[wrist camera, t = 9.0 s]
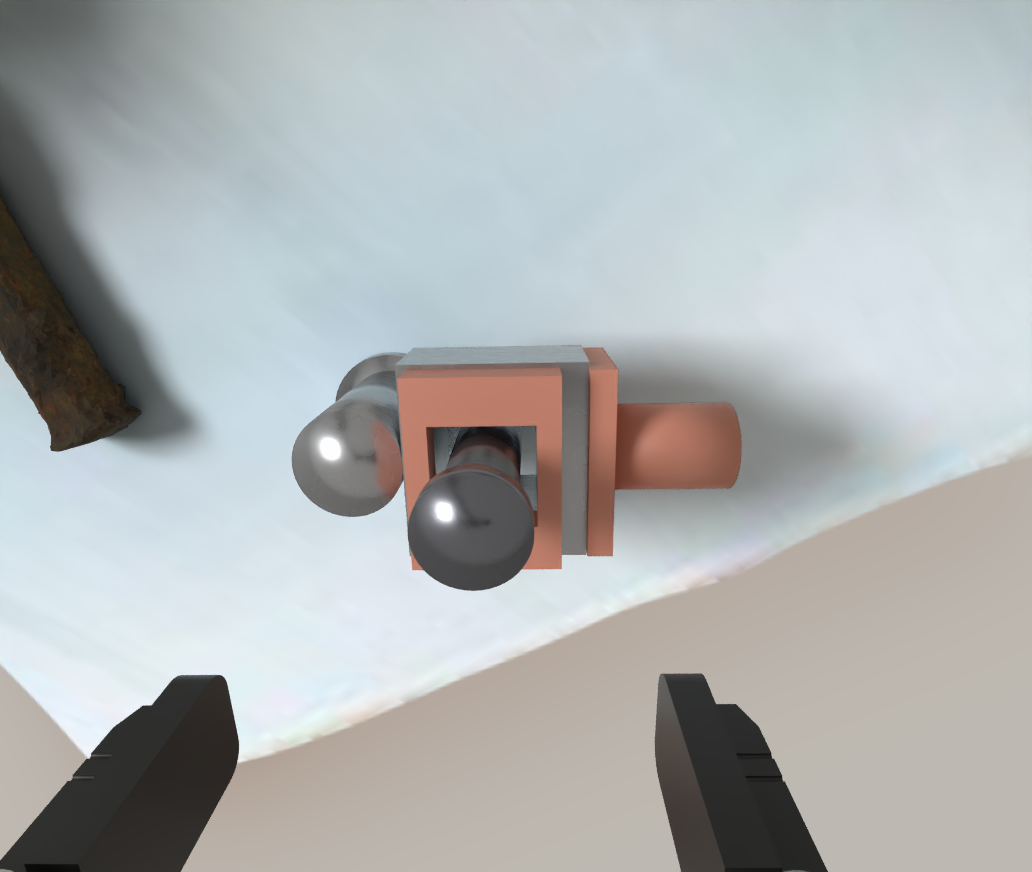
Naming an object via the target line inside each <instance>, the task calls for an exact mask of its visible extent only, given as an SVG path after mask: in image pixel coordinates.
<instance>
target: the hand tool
mask: <svg viewBox="0 0 1032 872" xmlns="http://www.w3.org/2000/svg"><path fill="white" fill-rule="evenodd" d="M0 351H1V354H2V355H3V356H4V358H5V361H6V362H7V363H8V364H9V366H10V367H11V368H12V370H13V371H14V373H15V375H16V377H17V378H18V380H19V381H20V382H21V384H22V385H23V387H24V388H25V389H26V391H27V392H28V395H29V397H30V398H31V399H32V401H33V402H34V404H35V406H36V408H37V410H38V411H39V412H38V413H39V414H40V415H41V417H42V418H43V419H44V420H45V422H46V423H47V425H48V427H49V428H48V429H49V431H50V434H51V446H50V448H51V451H58V452H59V451H63V450H67V449H70V448H74V447H77V446H81V445H85V444H88V443H91V442H94V441H97V440H99V439H102V438H105V437H108V436H111V435H113V434H115V433H116V432H118V431H120V430H122V429H124V428H127V427H128V424H130V423H131V422H133V421H134V420H135V419H136V418H137V417H138V416H139V415H141V411H139V410H138V409H136V408H134V407H132V406H129V405H127V404H126V402H125V401H124V396H125V388H124V386H122V385H121V384H118V383H114V382H113V381H112V379H111V378H110V377H109V375H108V374H107V372H106V371H105V369H104V368H103V366H102V365H101V363H100V362H99V360H98V358H97V356H96V354H95V352H94V350H93V348H92V347H91V345H90V344H89V342H88V341H87V340H86V338H85V336H84V335H83V334H82V333H81V332H80V330H79V329H78V327H77V325H76V324H75V322H74V320H73V318H72V316H71V315H70V313H69V311H68V309H67V308H66V306H65V304H64V302H63V295H62V293H61V292H60V291H59V290H57V289H56V288H55V287H54V285H53V284H52V282H51V280H50V279H49V277H48V275H47V274H46V272H45V270H44V268H43V266H42V264H41V262H40V261H39V260H38V259H37V257H36V256H35V255H34V253H33V251H32V250H31V248H30V246H29V245H28V243H27V242H26V240H25V238H24V237H23V235H22V233H21V231H20V230H19V228H18V226H17V225H16V223H15V221H14V219H13V218H12V216H11V215H10V213H9V211H8V210H7V208H6V206H5V205H4V203H3V202H2V200H1V198H0Z"/></svg>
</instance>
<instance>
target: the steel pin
mask: <svg viewBox="0 0 1032 872" xmlns="http://www.w3.org/2000/svg"><path fill="white" fill-rule="evenodd" d="M521 440H522V426H472V427H461V429H460V431H459V434H458V437H457V439H456V442H455V445H454V447H453V450H452V453H451V455H450V458H449V461H448V463H447V466H446V469H445V470H444V471H442V472H440V473H438V474H437V475H435V476H434V477H433V478H432V479H431V480H429V481H428V483H427V484H426V485H425V486H424V487H423V489H422V490H421V492H420V494H419V496H418V498H417V500H416V503H415V505H414V507H413V509H412V512H411V514H410V518H409V522H408V541H409V545H410V548H411V551H412V553H413V556H414V558H415V559H416V561H417V562H418V564H419V565H420V566H421V567H422V569H423V570H424V571H425V572H426V573H427V574H428V575H430V576H431V577H432V578H434V579H435V580H437V581H439V582H440V583H442V584H445V585H447V586H449V587H453V588H456V589H461V590H471V591H476V590H485V589H490V588H493V587H497V586H499V585H501V584H503V583H505V582H507V581H509V580H510V579H512V578H513V577H514V576H515V575H517V574H518V573H519V571H520V570H521V569H522V568H523V567H524V565H525V564H526V563H527V561H528V559H529V557H530V555H531V552H532V549H533V544H534V512H533V508H532V504H531V502H530V499H529V497H528V495H527V494H526V492H525V490H524V489H523V488H522V486H521V485H520V465H521Z"/></svg>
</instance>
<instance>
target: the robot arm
mask: <svg viewBox="0 0 1032 872" xmlns="http://www.w3.org/2000/svg"><path fill="white" fill-rule="evenodd" d="M238 754H239V740H238V734H237V729H236V724H235V720H234V715H233V710H232V705H231V700H230V695H229V690H228V685H227V682H226V680H225V678H224V677H223V676H221V675H180V676H177V677H175V678H174V679H173V680H172V681H171V682H170V683H169V685H168V686H167V687H166V688H165V690H164V691H163V692H162V693H161V695H160V696H159V697H158V698H157V699H156V701H155V702H154V703H153V704H152V706H142V707H141V708H139V709H138V710H137V711H135V712H134V713H132V714H131V715H130V716H128V717H127V718H126V719H124V720H123V721H122V722H120V723H119V724H117V725H116V726H115V727H113V728H112V730H111V731H110V732H109V733H108V734H107V736H106V737H105V738H104V739H103V740H102V741H101V743H100V744H99V745H98V746H97V747H96V748H95V750H94V751H93V752H92V753H91V757H90V759H86V760H85V761H84V763H83V764H82V765H81V766H80V767H79V769H78V770H77V771H76V772H75V773H74V775H73V778H72V780H71V781H67V783H66V784H65V785H64V786H63V787H62V789H61V790H60V791H59V792H58V793H57V794H56V796H55V797H54V798H53V799H52V800H51V802H50V803H49V804H48V805H47V806H46V807H45V809H44V810H43V811H42V812H41V813H40V815H39V816H38V817H37V818H36V819H35V820H34V822H33V823H32V824H31V825H30V826H29V827H28V829H27V830H26V831H25V832H24V833H23V835H22V836H21V837H20V838H19V839H18V840H17V842H16V843H15V844H14V845H13V846H12V847H11V849H10V850H9V851H8V852H7V853H6V855H5V856H4V857H3V858H2V859H1V860H0V872H181V870H182V868H183V866H184V864H185V863H186V861H187V859H188V857H189V855H190V853H191V851H192V850H193V848H194V846H195V844H196V842H197V841H198V838H199V837H200V835H201V833H202V831H203V830H204V828H205V826H206V824H207V822H208V821H209V819H210V817H211V815H212V813H213V812H214V810H215V808H216V806H217V804H218V802H219V800H220V799H221V797H222V795H223V793H224V791H225V790H226V788H227V786H228V784H229V782H230V780H231V778H232V776H233V774H234V771H235V768H236V765H237V760H238ZM655 757H656V766H657V773H658V778H659V782H660V787H661V790H662V795H663V799H664V803H665V807H666V811H667V815H668V819H669V823H670V827H671V832H672V836H673V840H674V844H675V848H676V852H677V855H678V860H679V864H680V868H681V872H828V871H827V869H826V867H825V865H824V863H823V861H822V859H821V856H820V854H819V852H818V850H817V848H816V846H815V844H814V842H813V840H812V838H811V836H810V834H809V831H808V829H807V827H806V825H805V823H804V821H803V819H802V817H801V814H800V812H799V810H798V808H797V806H796V804H795V802H794V800H793V798H792V796H791V793H790V792H789V789H788V787H787V785H786V783H785V782H783V780H782V775H781V772H780V771H779V768H778V766H777V764H776V762H775V760H774V759H772V756H771V751H770V749H769V747H768V745H767V743H766V741H765V739H764V737H763V735H762V733H761V731H760V728H759V727H758V726H757V725H756V724H755V723H754V722H753V721H752V720H751V719H750V718H749V717H748V716H747V715H746V714H745V713H744V712H743V711H742V710H741V709H740V708H739V707H738V706H737V705H736V704H716V703H715V701H714V698H713V696H712V693H711V691H710V688H709V686H708V683H707V681H706V679H705V677H704V675H703V674H661V675H660V677H659V683H658V699H657V715H656V732H655Z"/></svg>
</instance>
